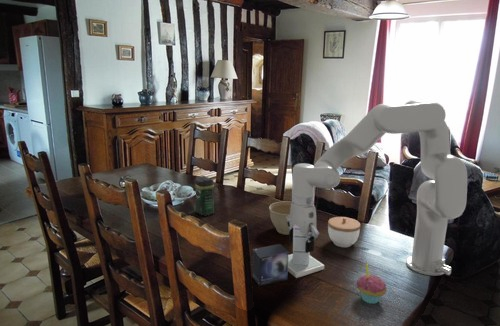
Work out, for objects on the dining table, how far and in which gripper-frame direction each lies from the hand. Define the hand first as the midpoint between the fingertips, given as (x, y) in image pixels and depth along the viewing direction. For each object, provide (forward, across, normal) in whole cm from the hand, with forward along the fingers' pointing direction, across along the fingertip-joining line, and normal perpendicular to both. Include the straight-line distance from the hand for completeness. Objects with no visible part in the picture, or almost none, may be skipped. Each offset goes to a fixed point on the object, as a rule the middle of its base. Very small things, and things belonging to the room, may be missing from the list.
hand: (300, 245), depth 124 cm
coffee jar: (+8, +64, +11) cm, 65 cm away
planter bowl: (+8, +27, -13) cm, 31 cm away
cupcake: (+8, -26, -7) cm, 28 cm away
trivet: (+8, 0, 0) cm, 8 cm away
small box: (+8, -2, +14) cm, 16 cm away
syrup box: (+6, 0, 0) cm, 6 cm away
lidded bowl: (+8, +6, -26) cm, 28 cm away
